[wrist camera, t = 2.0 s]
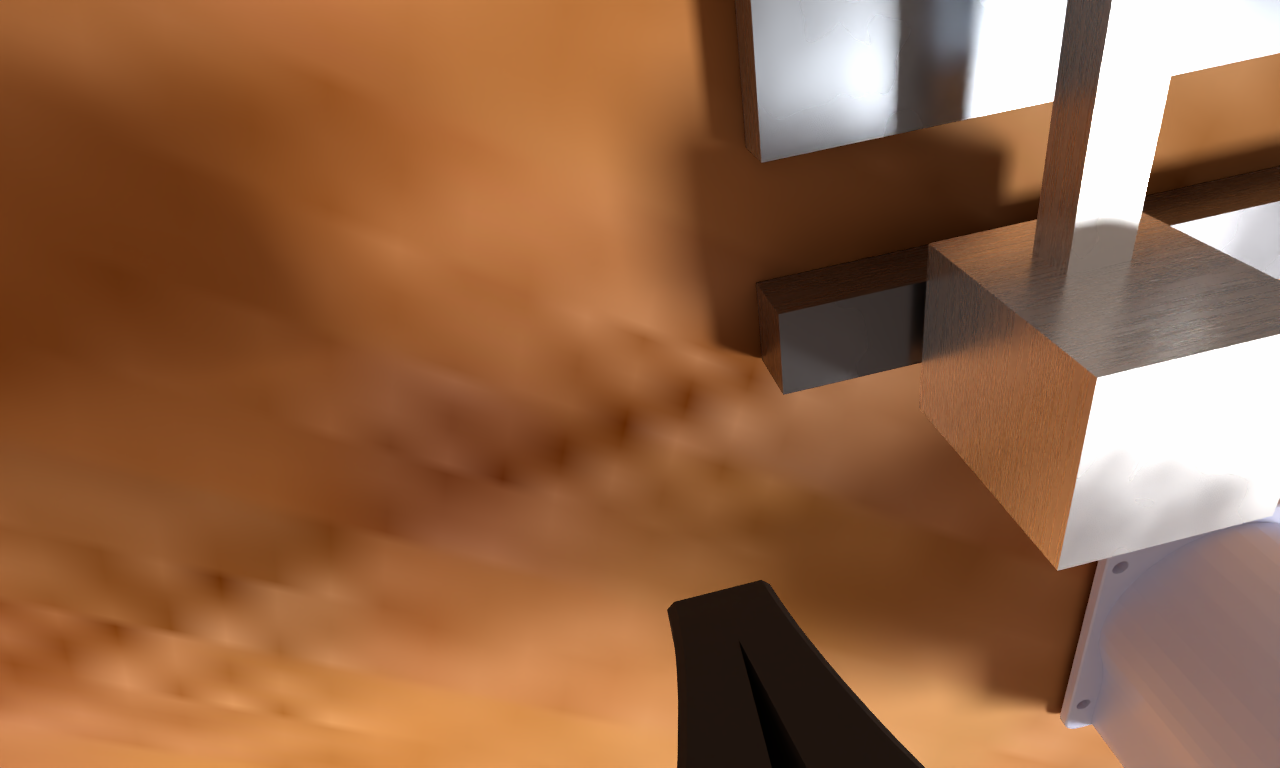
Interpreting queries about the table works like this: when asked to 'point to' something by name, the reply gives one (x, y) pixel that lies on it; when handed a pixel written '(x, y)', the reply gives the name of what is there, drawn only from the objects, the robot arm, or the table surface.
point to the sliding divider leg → (1106, 328)
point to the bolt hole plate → (932, 62)
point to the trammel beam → (896, 283)
